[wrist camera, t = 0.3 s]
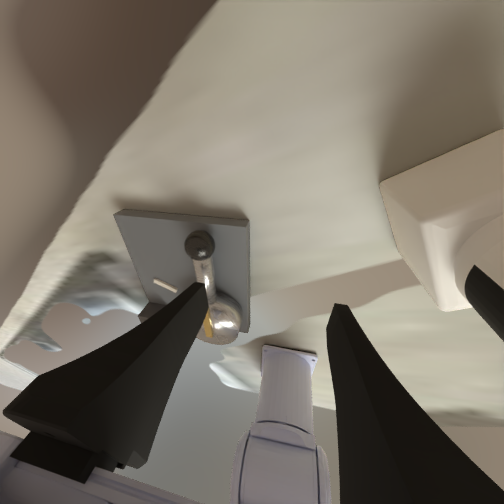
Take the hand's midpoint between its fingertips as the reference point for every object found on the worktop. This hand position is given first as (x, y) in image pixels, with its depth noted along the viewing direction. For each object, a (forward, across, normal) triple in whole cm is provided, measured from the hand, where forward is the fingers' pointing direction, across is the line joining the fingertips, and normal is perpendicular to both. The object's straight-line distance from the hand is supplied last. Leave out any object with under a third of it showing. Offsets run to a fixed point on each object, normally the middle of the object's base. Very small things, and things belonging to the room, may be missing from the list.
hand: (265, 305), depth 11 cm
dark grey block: (+8, +15, +14) cm, 23 cm away
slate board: (+10, +10, +8) cm, 16 cm away
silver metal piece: (+8, +7, +7) cm, 13 cm away
